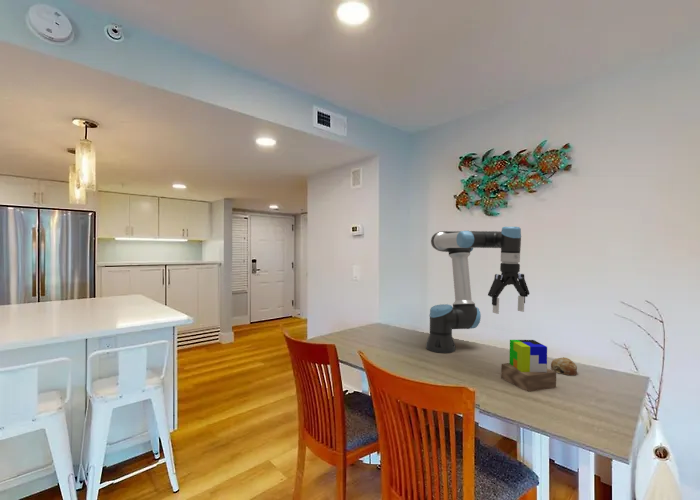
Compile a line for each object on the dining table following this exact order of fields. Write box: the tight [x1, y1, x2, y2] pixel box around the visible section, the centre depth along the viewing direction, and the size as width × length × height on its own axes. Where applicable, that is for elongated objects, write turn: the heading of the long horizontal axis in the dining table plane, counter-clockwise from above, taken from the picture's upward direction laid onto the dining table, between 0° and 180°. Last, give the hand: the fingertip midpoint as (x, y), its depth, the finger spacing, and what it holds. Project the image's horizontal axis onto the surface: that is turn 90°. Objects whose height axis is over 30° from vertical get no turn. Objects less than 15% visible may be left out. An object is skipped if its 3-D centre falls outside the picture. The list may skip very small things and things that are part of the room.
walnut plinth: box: [500, 362, 557, 392], centre depth 139 cm, size 14×14×6 cm
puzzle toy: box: [508, 339, 548, 372], centre depth 139 cm, size 10×10×10 cm
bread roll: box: [550, 357, 578, 376], centre depth 152 cm, size 10×10×8 cm
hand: (508, 312), depth 146 cm, fingers open, 13 cm apart
